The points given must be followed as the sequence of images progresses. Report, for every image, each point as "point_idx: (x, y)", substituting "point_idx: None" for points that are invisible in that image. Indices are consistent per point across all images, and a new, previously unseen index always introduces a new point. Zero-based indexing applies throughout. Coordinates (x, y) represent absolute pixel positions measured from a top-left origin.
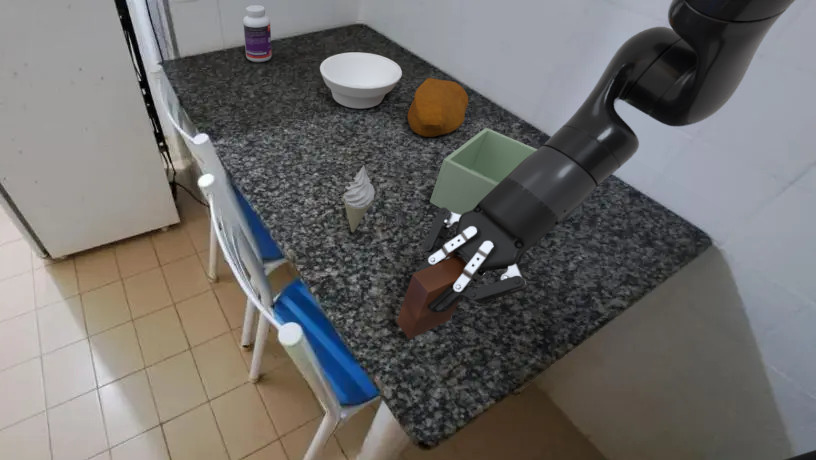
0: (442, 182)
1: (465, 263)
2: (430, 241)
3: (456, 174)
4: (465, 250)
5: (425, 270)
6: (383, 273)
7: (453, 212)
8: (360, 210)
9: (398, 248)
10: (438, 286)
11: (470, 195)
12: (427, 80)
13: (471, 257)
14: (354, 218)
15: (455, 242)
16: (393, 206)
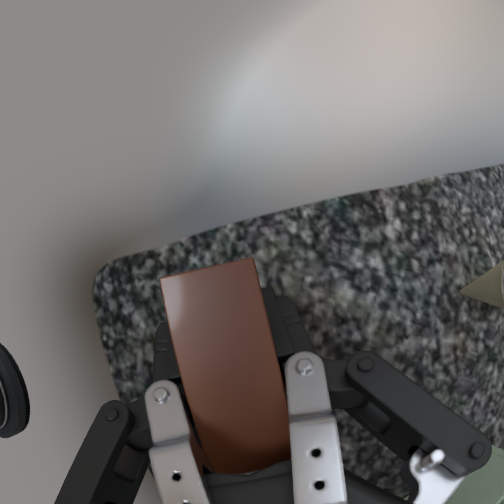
0: (497, 458)
1: (254, 467)
2: (379, 380)
3: (501, 481)
4: (268, 489)
5: (257, 312)
6: (377, 322)
7: (456, 488)
8: (497, 283)
9: (418, 366)
10: (173, 326)
11: (460, 499)
12: None
13: (224, 493)
14: (483, 280)
15: (319, 469)
16: (486, 377)
